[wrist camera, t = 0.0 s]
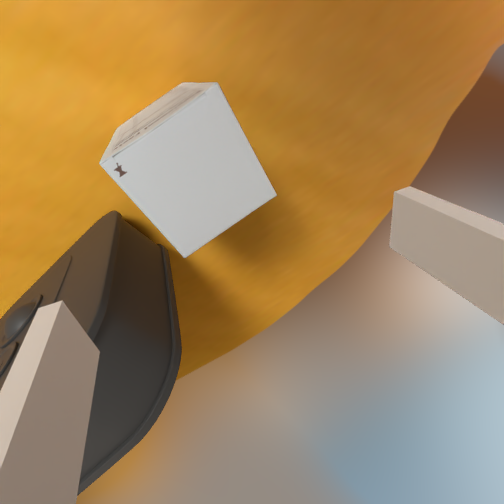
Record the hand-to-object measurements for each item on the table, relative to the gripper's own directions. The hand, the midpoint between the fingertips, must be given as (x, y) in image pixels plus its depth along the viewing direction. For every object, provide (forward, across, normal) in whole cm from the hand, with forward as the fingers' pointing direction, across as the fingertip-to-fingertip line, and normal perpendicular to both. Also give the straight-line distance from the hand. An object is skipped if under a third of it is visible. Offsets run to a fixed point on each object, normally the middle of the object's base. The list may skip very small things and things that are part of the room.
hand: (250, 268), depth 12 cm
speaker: (+28, -18, -13) cm, 36 cm away
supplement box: (+28, 0, 0) cm, 28 cm away
